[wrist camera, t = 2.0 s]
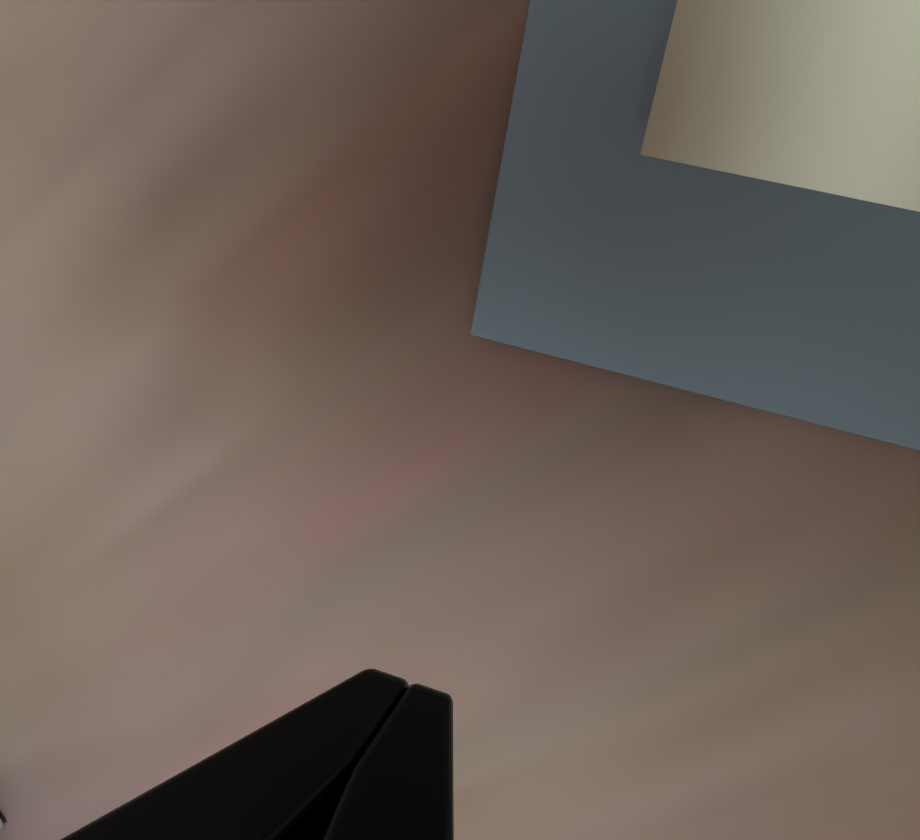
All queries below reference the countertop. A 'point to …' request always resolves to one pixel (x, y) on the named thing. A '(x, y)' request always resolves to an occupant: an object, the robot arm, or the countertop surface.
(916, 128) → the plain bar
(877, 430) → the mat
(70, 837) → the robot arm
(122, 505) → the countertop surface
